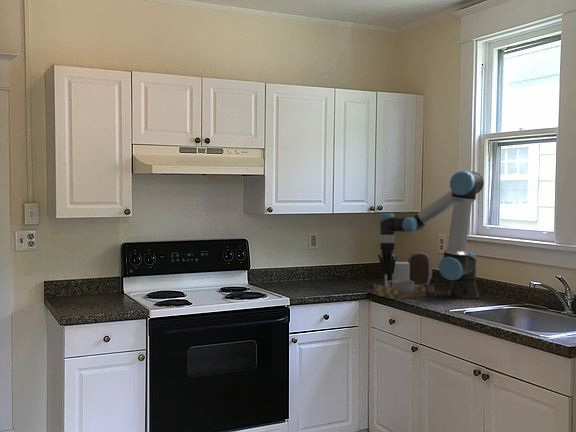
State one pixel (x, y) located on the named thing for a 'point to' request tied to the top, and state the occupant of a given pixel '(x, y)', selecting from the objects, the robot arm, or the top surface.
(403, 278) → the supplement box
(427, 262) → the dark brown rounded block
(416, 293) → the bay
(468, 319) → the top surface
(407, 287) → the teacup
